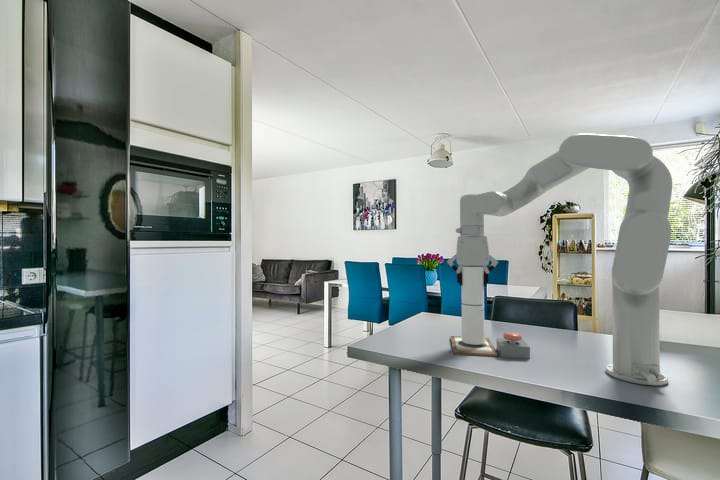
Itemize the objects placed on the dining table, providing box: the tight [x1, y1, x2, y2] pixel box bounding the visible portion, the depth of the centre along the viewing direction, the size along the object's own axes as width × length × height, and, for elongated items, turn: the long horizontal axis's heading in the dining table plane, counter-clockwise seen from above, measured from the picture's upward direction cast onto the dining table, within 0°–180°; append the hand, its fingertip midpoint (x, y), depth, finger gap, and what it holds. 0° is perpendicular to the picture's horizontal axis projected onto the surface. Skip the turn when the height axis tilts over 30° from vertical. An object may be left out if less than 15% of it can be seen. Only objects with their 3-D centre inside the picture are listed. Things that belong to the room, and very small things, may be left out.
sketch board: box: [450, 335, 499, 358], centre depth 115 cm, size 18×13×1 cm
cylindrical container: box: [460, 266, 485, 345], centre depth 115 cm, size 7×7×25 cm
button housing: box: [496, 337, 531, 360], centre depth 108 cm, size 8×8×4 cm
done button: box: [503, 331, 523, 344], centre depth 108 cm, size 5×5×4 cm
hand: (472, 284), depth 115 cm, fingers closed on cylindrical container, 7 cm apart
